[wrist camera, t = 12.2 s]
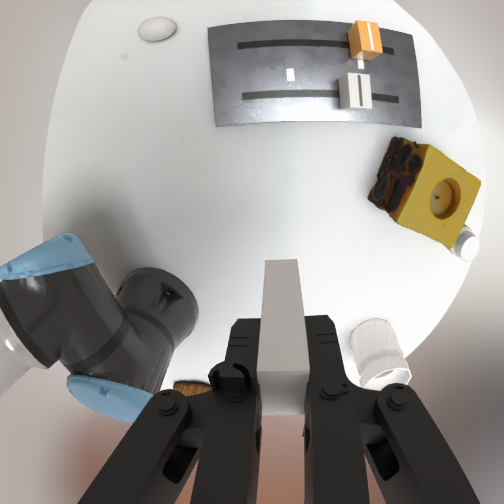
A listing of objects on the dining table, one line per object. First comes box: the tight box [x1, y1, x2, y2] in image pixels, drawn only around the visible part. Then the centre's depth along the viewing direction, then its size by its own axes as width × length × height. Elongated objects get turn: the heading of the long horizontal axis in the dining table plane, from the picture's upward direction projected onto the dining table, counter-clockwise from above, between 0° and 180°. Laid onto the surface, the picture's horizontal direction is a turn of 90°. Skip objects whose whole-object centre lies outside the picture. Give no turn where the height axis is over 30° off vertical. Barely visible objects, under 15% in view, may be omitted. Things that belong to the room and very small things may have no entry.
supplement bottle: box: [443, 224, 480, 262], centre depth 32 cm, size 5×5×8 cm
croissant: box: [173, 382, 212, 396], centre depth 55 cm, size 14×7×5 cm, turn 86°
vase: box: [350, 318, 412, 391], centre depth 41 cm, size 9×9×12 cm
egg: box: [137, 17, 176, 41], centre depth 24 cm, size 4×6×4 cm, turn 82°
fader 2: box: [338, 73, 372, 110], centre depth 25 cm, size 2×4×5 cm, turn 5°
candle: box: [368, 137, 481, 248], centre depth 29 cm, size 10×10×10 cm
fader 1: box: [347, 20, 383, 60], centre depth 22 cm, size 2×4×5 cm, turn 5°
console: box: [208, 20, 422, 128], centre depth 27 cm, size 27×14×2 cm, turn 95°
